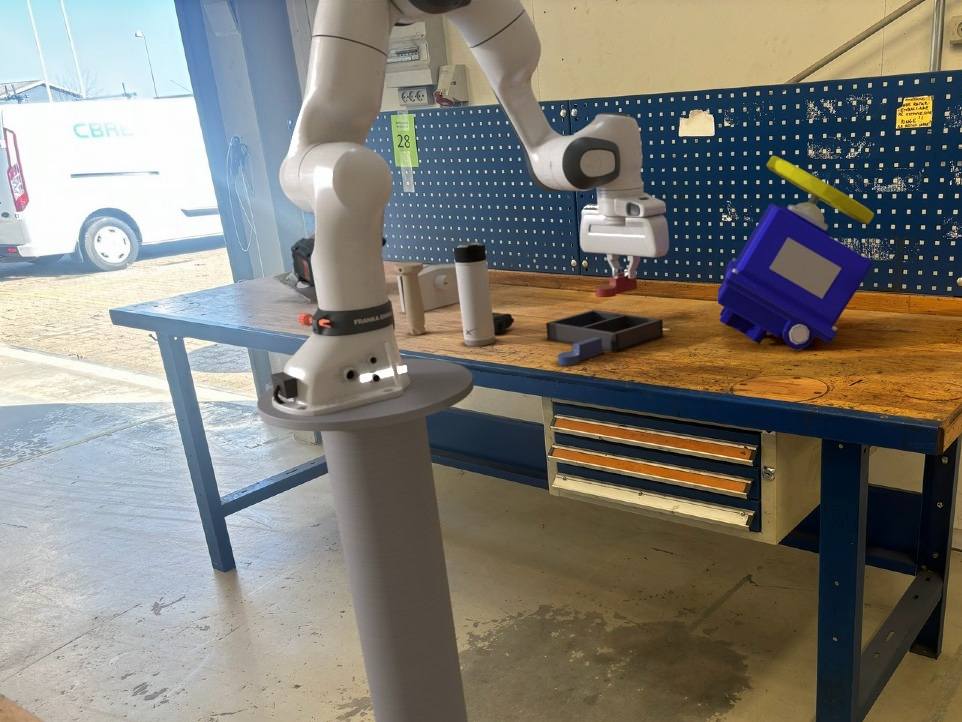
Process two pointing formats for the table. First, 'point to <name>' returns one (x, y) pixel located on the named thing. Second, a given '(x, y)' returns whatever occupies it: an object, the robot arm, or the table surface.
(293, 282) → the circular saw
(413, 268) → the handle
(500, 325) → the tape measure
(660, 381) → the table surface
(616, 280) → the red stepped block
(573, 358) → the blue stepped block
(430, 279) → the lock
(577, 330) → the sorting tray
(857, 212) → the control box
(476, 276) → the travel mug
